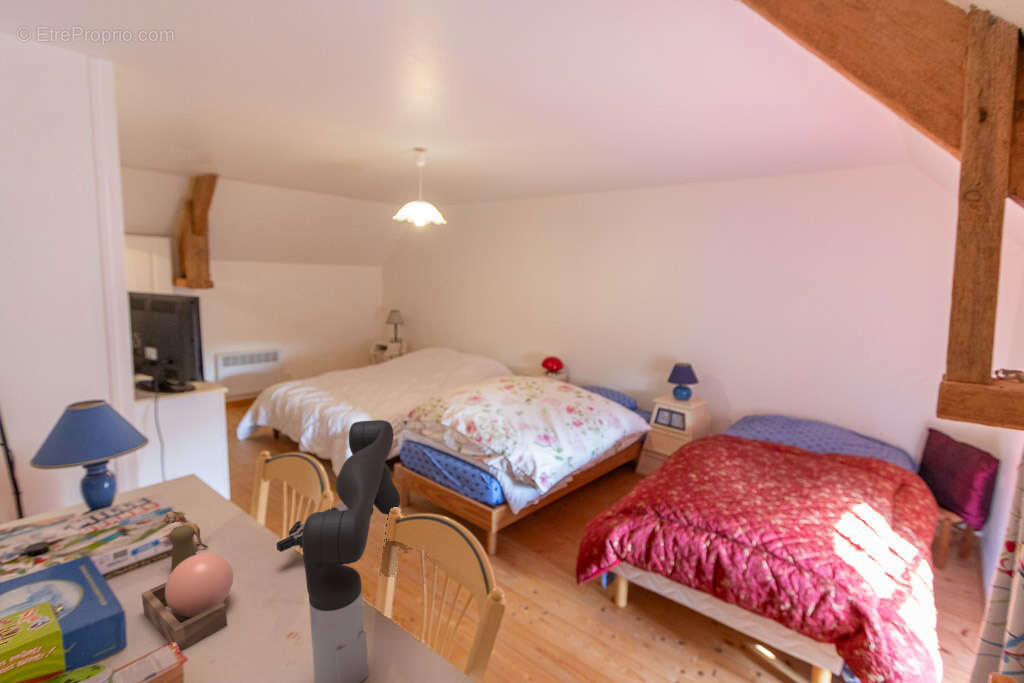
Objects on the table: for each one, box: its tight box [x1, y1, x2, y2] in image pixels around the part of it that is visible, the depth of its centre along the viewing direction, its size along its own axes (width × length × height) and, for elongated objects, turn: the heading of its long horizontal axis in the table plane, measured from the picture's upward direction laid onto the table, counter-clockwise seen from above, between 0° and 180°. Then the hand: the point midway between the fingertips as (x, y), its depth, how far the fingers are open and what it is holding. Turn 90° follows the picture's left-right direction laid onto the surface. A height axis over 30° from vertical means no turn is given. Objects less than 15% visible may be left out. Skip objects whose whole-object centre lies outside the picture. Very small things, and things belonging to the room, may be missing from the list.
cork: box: [168, 525, 197, 573], centre depth 125 cm, size 6×6×11 cm
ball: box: [165, 552, 234, 618], centre depth 110 cm, size 13×13×13 cm
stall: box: [141, 581, 228, 652], centre depth 107 cm, size 19×10×5 cm, turn 54°
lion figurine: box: [159, 511, 209, 552], centre depth 136 cm, size 15×5×9 cm, turn 73°
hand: (278, 547), depth 124 cm, fingers closed
